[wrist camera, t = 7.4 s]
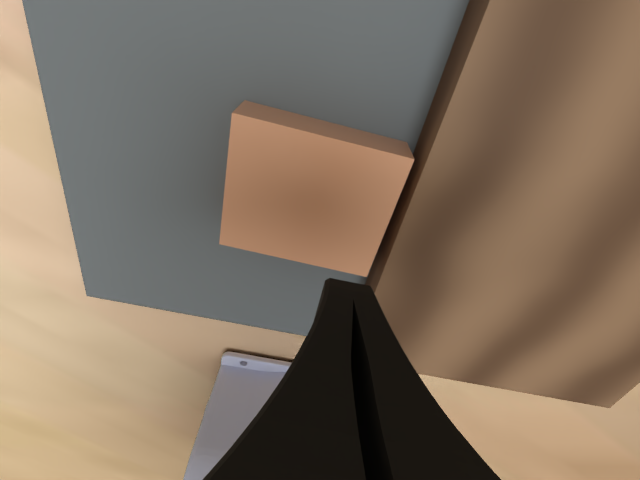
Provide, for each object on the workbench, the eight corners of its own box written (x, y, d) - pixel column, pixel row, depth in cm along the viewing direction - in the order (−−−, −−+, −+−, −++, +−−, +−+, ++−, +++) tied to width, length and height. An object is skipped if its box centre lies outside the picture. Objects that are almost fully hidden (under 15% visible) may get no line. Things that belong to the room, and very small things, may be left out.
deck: (347, 327, 22) (347, 361, 20) (503, -103, 11) (539, -126, 9) (585, 371, 23) (609, 408, 21) (941, 20, 12) (1063, 23, 10)
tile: (230, 221, 18) (219, 244, 16) (244, 99, 15) (231, 112, 13) (364, 252, 19) (366, 277, 17) (406, 141, 15) (414, 159, 14)
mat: (90, 291, 22) (86, 295, 21) (-34, -307, 10) (-48, -318, 9) (343, 337, 23) (343, 342, 22) (519, -147, 11) (525, -152, 10)
